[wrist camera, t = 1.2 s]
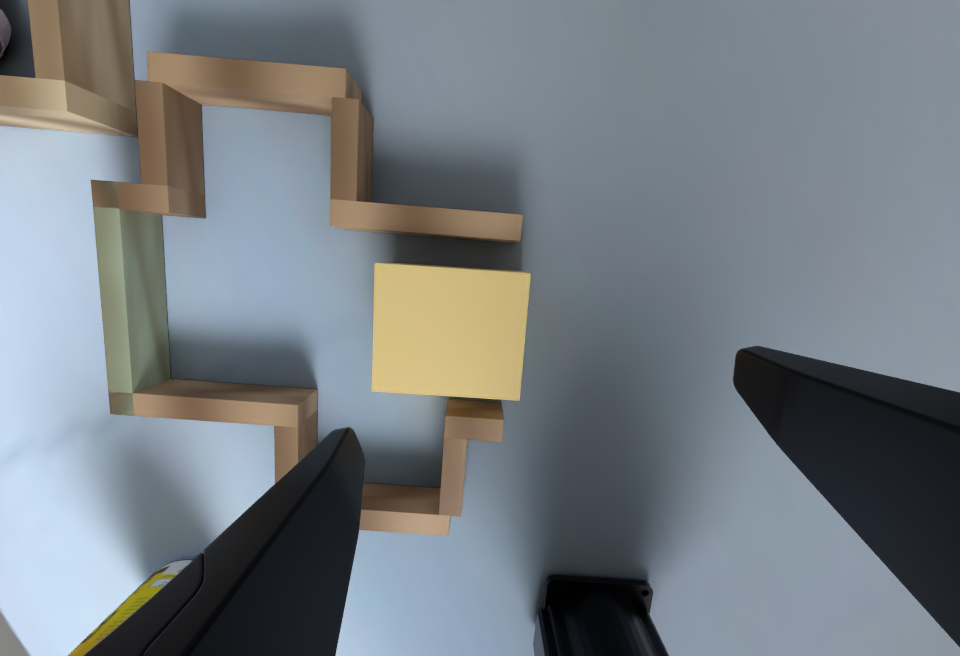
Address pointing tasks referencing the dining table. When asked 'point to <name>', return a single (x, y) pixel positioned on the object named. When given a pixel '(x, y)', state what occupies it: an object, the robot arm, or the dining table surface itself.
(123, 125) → the fence
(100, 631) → the supplement bottle
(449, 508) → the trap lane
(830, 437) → the robot arm
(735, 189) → the dining table surface
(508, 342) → the block
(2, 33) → the toy figure
